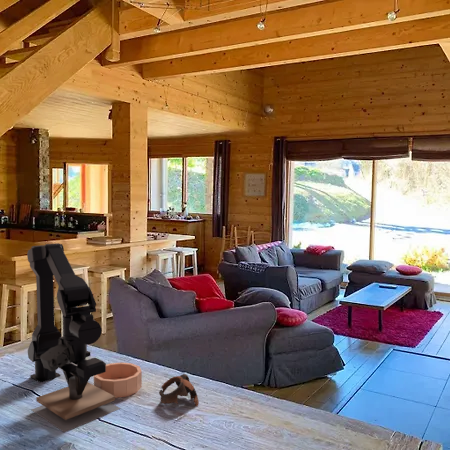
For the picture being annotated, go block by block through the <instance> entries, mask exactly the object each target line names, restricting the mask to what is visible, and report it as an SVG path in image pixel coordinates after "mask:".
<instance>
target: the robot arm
mask: <svg viewBox="0 0 450 450" xmlns="http://www.w3.org/2000/svg"><path fill="white" fill-rule="evenodd" d="M26 256H27V261H28V263H29V267H30V269H31V271H33V273H34V274H35V276H36V277H35V280H36V281H35V282H36V307H37V309H36V311H37V312H36V313H37V314H36V315H37V316H36V317H37V325H36V327H35V328H34V330H33V332H32V333H31V341H30V343H29V346H28V348H27V358H28V359H29V360H30V361H31V363H34V374H30V375H29V376H30V377H29V378H31V379H32V380H35V381H36V382H37V383H43V382H46V381H50V380H52V379H55V378H59V377H61V374H60V373H58V372H56V371H57V370H58V369H59V370H61V371H62V372H63V374H64V375H63V376H64V378H65V380H66V383H67V387H69V378H70V377H72V376H75V382H76V390H77V395H81V394H82V393H83V391H84V389H85V387H86V385H87V383H89V381H90V378H92V377H93V376H95V375H98V374H101V373H104V372H106V365H107V362H105V361H104V360H101V359H99V358H98V357H97V358H96V357H93V358H89V357H91V351H89V350H88V345H92V344H94V343H96V342H98V340H99V339H100V338H101V335H102V329H103V328H102V327H101V324H100V323H99V322H98V321H96V320H95V319H94V315H93V313H96V312H97V308H96V306H97V303H96V300H95V296H94V294H93V291H92V289H91V288H90V287H91V286H89V285H88V283H87V282H86V280H85V279H84V278H83V277H81V276H78V275H77V274H76V272H75V271H74V269H73V267H72V266H71V264H70V261H69V260H68V257H67V255H66V254H65V249H64V245H63V244H61V243H58V242H57V243H56V242H55V243H46V244H43V245H33V246H31V247H30V249H28V250H27V255H26ZM54 279H55V281H56V283H57V286H58V287H57V292H56V300H57V304H58V306H59V308H60V311H61V314H62V332H61V331H60V329H58V327H57V326H56V324H55V297H54V295H55V293H54ZM87 358H89V359H87Z"/></svg>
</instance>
